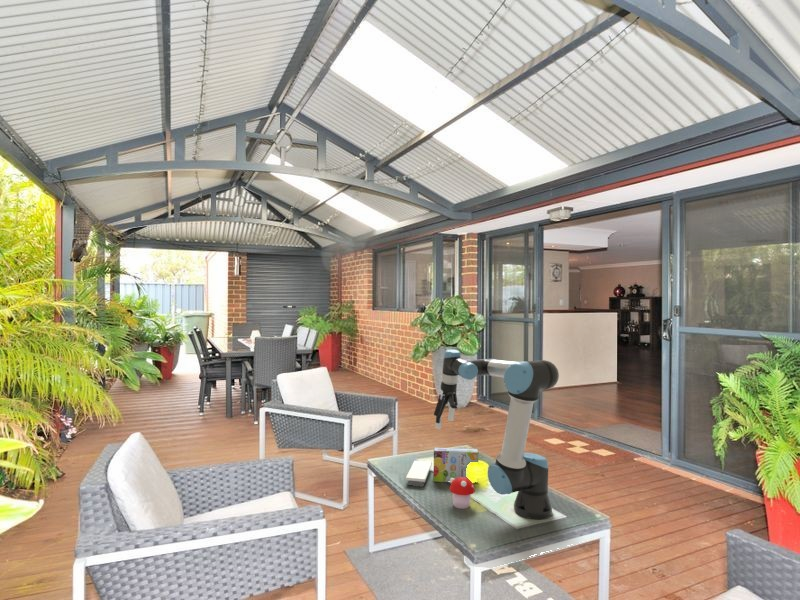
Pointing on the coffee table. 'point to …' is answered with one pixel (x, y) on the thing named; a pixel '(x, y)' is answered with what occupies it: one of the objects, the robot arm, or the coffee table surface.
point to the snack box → (452, 462)
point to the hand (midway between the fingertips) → (444, 424)
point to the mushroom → (461, 492)
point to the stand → (418, 473)
